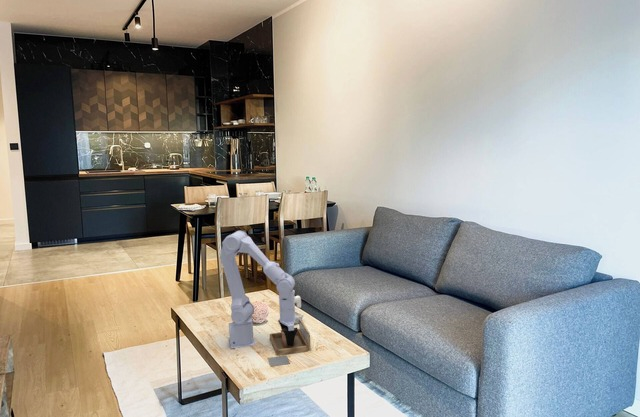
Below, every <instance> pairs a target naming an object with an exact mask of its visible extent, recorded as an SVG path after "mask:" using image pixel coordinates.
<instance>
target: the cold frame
mask: <svg viewBox="0 0 640 417" xmlns="http://www.w3.org/2000/svg"><path fill="white" fill-rule="evenodd" d="M269 340H270V343H271V345H272V347H273V350H274V353H275V356H285V355H287V356H288V355H293V354H301V353H307V352H309V351H308V343H307V342H306V340H305V338H304V336H303V335H302V333H301V331H300V330H299V328H298V331H297V333H296V335H295V339H294V344H295V345H294V346H292V347H284V346H283V344H282V334H281V331H279V332H273V333H269ZM311 349H312V347H311V345H310V351H312V350H311Z"/></svg>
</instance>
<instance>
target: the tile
mask: <svg viewBox="0 0 640 417" xmlns="http://www.w3.org/2000/svg"><path fill="white" fill-rule="evenodd" d="M267 360H268V363H269V366H270V367H278V366H286V365H291V362H290V359H289V357H288V354H287V355H280V356H279V355H276V356H272V357H267Z"/></svg>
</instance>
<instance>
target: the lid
mask: <svg viewBox="0 0 640 417" xmlns="http://www.w3.org/2000/svg"><path fill="white" fill-rule="evenodd" d="M298 326H299V328H298V329H299V330H300V331H301V333H302V335H303V336H304V338H305V340H306V342H307V343H308V351H307V352H309V351H310V346H311V335H310V334H311V333H310V331H309V329H308V328H307V326H306V325H305V322H304V321H303V319H302V320H301V318H299V324H298Z"/></svg>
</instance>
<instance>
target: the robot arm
mask: <svg viewBox="0 0 640 417" xmlns="http://www.w3.org/2000/svg"><path fill="white" fill-rule="evenodd" d="M221 244H222V246H221V250H220V255H219V256H220V257H219V258H220V261H221V264H222V265H221V266H222V267H223V271H224V275H225V279H226V283H227V286H228V290H229V293H230V297H231V305H230V309H231V314H230V318H231V321H232V322H230V323H228V336H229V337H228V342H229V346H230V349H231V350H232V349H236V348H242V347H243V348H244V347H250V346H256V345H257V343H256V341H255V337H254V326H253V325H254V324H253V316H252V315H253V314H254V313H255V307H254V304H253V303H252V302H251V301H250V297H249V296H247V295H246V293H245V288H244V285H243V280H242V278H241V274H240V270H239V266H238V263H237V259H236V256H237V254H238V253H240V254H241V253H242V254H244V253H245V254H248V255H249V256H250V257H251V258H252V259H253V260H254V261H256V262H257V263H258V264H259V265H260V266H261V267H262V269H263V270H262V271H263V273H264V274H265V276H267V278H268V279H269V280H271V282H272V283H273V284H275V286H276V292H278V299H279V300H278V305H279V306H278V307H279V308H278V309H279V319H278V320H277V323H278V324H279V325H280V328H281V329H280V330H283V332H284V334H285V337H286V342H287V345H288V346H293V344H294V339H295V335H296V333H297V331H298V329H299V328H298V327H295V324H294V323H295V321H296V320H298V317H295V312H296V307H295V308H294V297H295V294H294V287H295V286H296V280H295V278H294V276H292V275H291V274H288V273H287V272H285V271H284V270H283V269H282V268H281V267H280V264H279V262H276V261H272V260H271V261H270V260H269V258H268V257H267V256H266V255H265V254H264V252H263V251H262V250H261V249H260V248H259V247H258V246H257V244H255V242H254V241H253V239H252V237H250V236H249V235H248V234H247V232H245V231H243V230H236V231H235V232H233V233H232V234H231V233H230V234H229V235H227V236H226V237H225V238H224V239H223V241H222V242H221Z"/></svg>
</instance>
